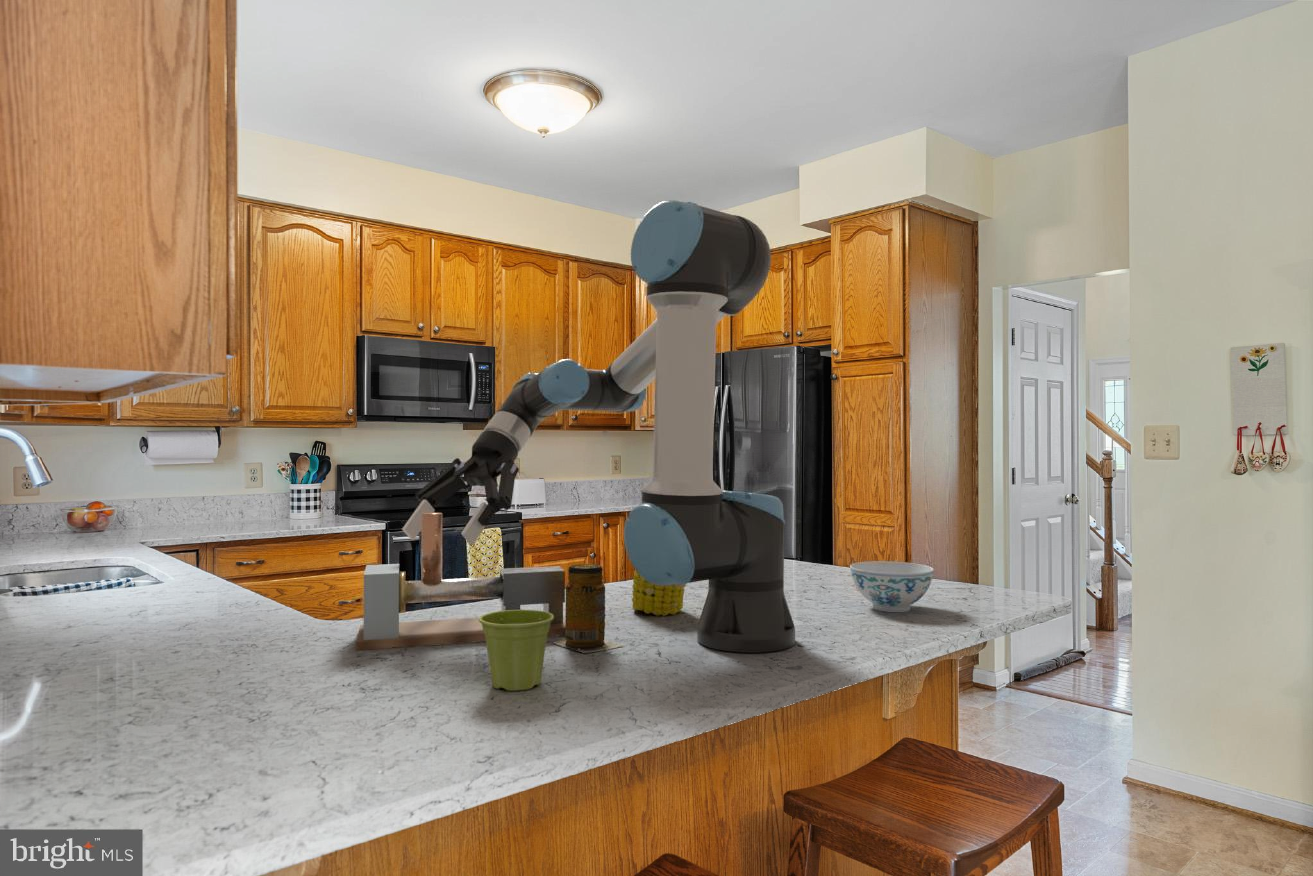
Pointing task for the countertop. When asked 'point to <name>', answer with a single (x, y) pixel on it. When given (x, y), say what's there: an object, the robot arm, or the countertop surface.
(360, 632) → the base board
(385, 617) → the socket block
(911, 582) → the chinaware
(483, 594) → the tube
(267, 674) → the countertop surface
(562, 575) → the grey concrete block
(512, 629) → the plant pot
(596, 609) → the condiment
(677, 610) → the food
